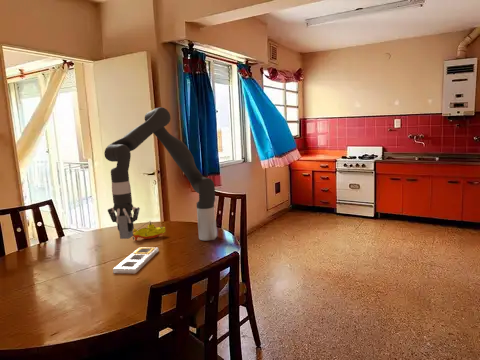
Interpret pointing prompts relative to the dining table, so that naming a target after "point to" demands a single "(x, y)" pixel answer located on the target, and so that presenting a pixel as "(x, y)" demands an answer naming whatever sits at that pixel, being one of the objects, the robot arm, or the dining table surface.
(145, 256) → the rail
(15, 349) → the dining table surface
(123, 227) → the peg
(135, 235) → the toy boat
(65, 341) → the dining table surface
